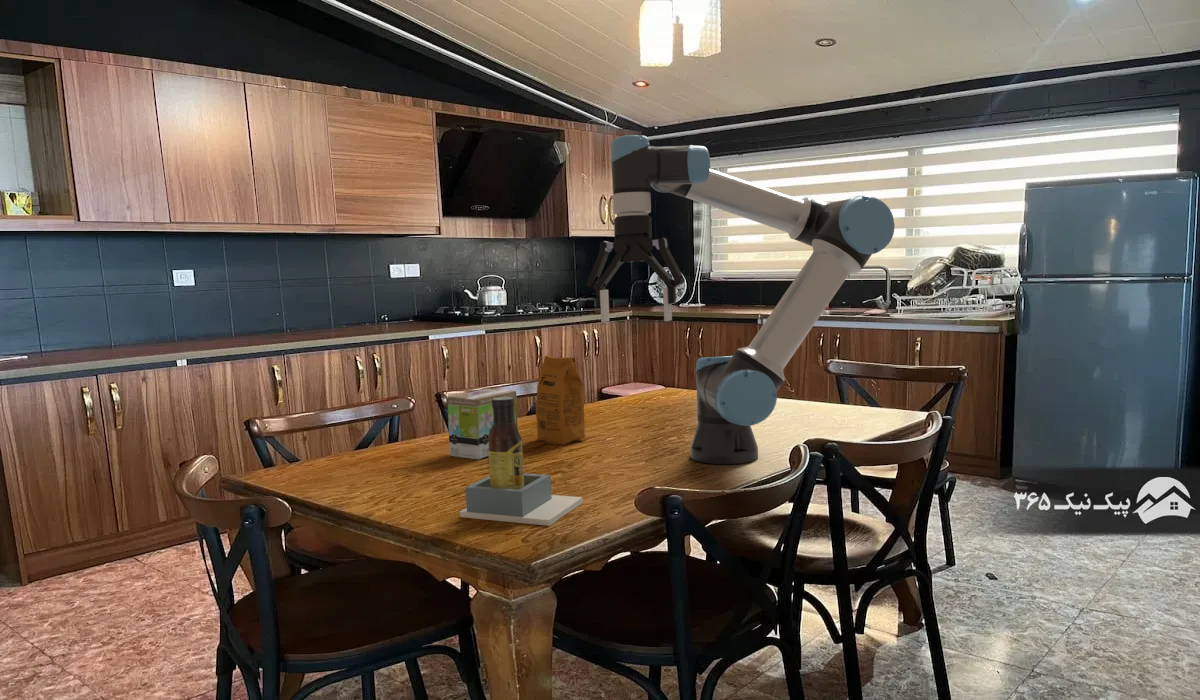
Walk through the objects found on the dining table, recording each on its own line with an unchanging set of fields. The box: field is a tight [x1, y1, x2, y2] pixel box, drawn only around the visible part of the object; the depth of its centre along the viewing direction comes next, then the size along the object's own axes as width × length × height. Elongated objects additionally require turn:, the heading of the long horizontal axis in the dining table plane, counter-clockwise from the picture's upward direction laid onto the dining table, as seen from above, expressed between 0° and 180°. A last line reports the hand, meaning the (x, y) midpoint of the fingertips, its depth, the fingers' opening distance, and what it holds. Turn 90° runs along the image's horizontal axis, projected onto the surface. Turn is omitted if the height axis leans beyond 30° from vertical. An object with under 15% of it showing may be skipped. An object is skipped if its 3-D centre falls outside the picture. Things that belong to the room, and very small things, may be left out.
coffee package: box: [535, 354, 586, 445], centre depth 204 cm, size 10×12×22 cm
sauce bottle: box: [488, 397, 525, 490], centre depth 145 cm, size 7×6×20 cm
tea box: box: [447, 388, 519, 460], centre depth 195 cm, size 15×10×15 cm, turn 148°
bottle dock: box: [459, 472, 584, 527], centre depth 146 cm, size 18×14×6 cm
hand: (636, 321), depth 161 cm, fingers open, 13 cm apart
